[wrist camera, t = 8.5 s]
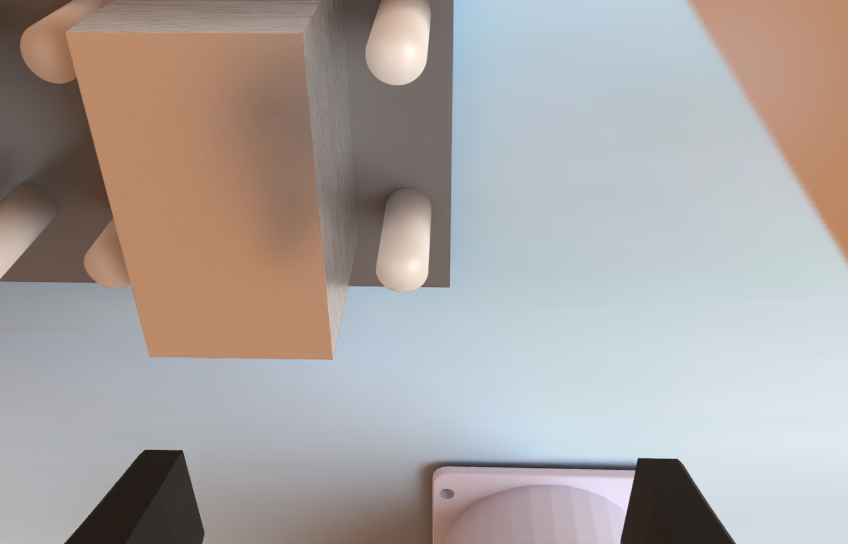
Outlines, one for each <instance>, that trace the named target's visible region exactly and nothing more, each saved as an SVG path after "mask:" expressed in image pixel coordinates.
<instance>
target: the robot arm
mask: <svg viewBox="0 0 848 544" xmlns="http://www.w3.org/2000/svg"><path fill="white" fill-rule="evenodd" d="M443 489H450V490H443ZM432 506H433V544H736V543H735V542H734V540H733V539H732V538H731V536H730V535H729V533H728V532H727V530H726V529H725V527H724V526H723V524H722V523H721V522H720V520H719V519H718V517H717V516H716V514H715V513H714V511H713V510H712V508H711V507H710V505H709V504H708V502H707V501H706V499H705V498H704V496H703V495H702V493H701V492H700V490H699V489H698V487H697V486H696V484H695V482H694V481H693V479H692V478H691V476H690V475H689V473H688V471H687V470H686V468H685V467H684V465H683V464H682V463H681V462H680V461H679V460H678V459H652V458H638V461H637V466H636V470H593V469H545V468H498V467H450V466H447V467H441V468H439V469H437V470H436V471H435V472H434V473H433V482H432ZM203 537H204V529H203V525H202V522H201V518H200V514H199V510H198V507H197V503H196V499H195V495H194V491H193V488H192V484H191V480H190V476H189V472H188V469H187V465H186V461H185V457H184V453H183V450H144V451H143V452H142V453H141V454H140V455H139V456H138V457H137V458H136V460H135V461H134V462H133V463H132V464H131V466H130V467H129V468H128V469H127V470H126V472H125V473H124V474H123V475H122V477H121V478H120V479H119V480H118V481H117V483H116V484H115V485H114V486H113V487H112V489H111V490H110V491H109V492H108V493H107V495H106V496H105V497H104V498H103V499H102V501H101V502H100V503H99V504H98V505H97V507H96V508H95V509H94V510H93V511H92V512H91V514H90V515H89V516H88V517H87V518H86V519H85V521H84V522H83V523H82V524H81V525H80V526H79V528H78V529H77V530H76V531H75V532H74V533H73V534H72V535H71V537H70V538H69V539H68V540H67V541H66V542H65V543H64V544H202V542H203Z"/></svg>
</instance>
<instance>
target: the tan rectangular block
mask: <svg viewBox="0 0 848 544" xmlns="http://www.w3.org/2000/svg"><path fill="white" fill-rule="evenodd" d="M65 34H66V38H67V42H68V46H69V50H70V53H71V57H72V61H73V65H74V69H75V73H76V76H77V80H78V84H79V88H80V92H81V96H82V99H83V103H84V107H85V111H86V115H87V118H88V122H89V126H90V130H91V134H92V138H93V141H94V145H95V149H96V153H97V157H98V161H99V164H100V168H101V172H102V176H103V180H104V184H105V187H106V191H107V195H108V199H109V203H110V207H111V210H112V214H113V218H114V222H115V226H116V229H117V233H118V237H119V241H120V245H121V249H122V252H123V256H124V260H125V264H126V268H127V272H128V275H129V279H130V283H131V287H132V291H133V295H134V298H135V302H136V306H137V310H138V314H139V317H140V321H141V325H142V329H143V333H144V337H145V340H146V344H147V348H148V352H149V356H150V357H202V358H263V359H323V360H333V357H334V352H335V347H336V342H337V337H338V333H339V328H340V323H341V318H342V313H343V308H344V304H345V299H346V294H347V289H348V284H349V279H350V274H351V270H352V265H353V260H354V255H355V250H356V245H357V224H356V208H355V193H354V177H353V161H352V145H351V130H350V114H349V98H348V82H347V67H346V51H345V35H344V19H343V4H342V0H112V1H110V2H109V3H108V4H106V5H105V6H103V7H102V8H100V9H99V10H97V11H96V12H94V13H93V14H91V15H90V16H89V17H87V18H86V19H84V20H83V21H81V22H80V23H78V24H77V25H75V26H74V27H73V28H71V29H70V30H68V31H67V32H65Z"/></svg>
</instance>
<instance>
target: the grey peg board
mask: <svg viewBox="0 0 848 544" xmlns="http://www.w3.org/2000/svg"><path fill="white" fill-rule="evenodd" d="M110 1H112V0H0V281H10V282H84V283H99V284H101V285H103V286H105V287H109V288H123V287H126V286H128V285H130V284H131V283H130V279H129V275H128V272H127V268H126V264H125V260H124V256H123V252H122V249H121V245H120V241H119V237H118V233H117V229H116V226H115V222H114V218H113V214H112V210H111V207H110V203H109V199H108V195H107V191H106V187H105V184H104V180H103V176H102V172H101V168H100V164H99V161H98V157H97V153H96V149H95V145H94V141H93V138H92V134H91V130H90V126H89V122H88V118H87V115H86V111H85V107H84V103H83V99H82V96H81V92H80V88H79V84H78V80H77V76H76V73H75V69H74V65H73V61H72V57H71V53H70V50H69V46H68V42H67V38H66V34H65V32H67V31H68V30H70V29H71V28H73V27H74V26H75V25H77V24H78V23H80V22H81V21H83V20H84V19H86V18H87V17H89V16H90V15H91V14H93V13H94V12H96V11H97V10H99V9H100V8H102V7H103V6H105V5H106V4H108V3H109V2H110ZM342 4H343V19H344V35H345V51H346V67H347V82H348V98H349V114H350V130H351V145H352V161H353V177H354V193H355V208H356V224H357V245H356V250H355V255H354V260H353V265H352V270H351V274H350V279H349V284H348V286H382V287H386V288H388V289H390V290H392V291H396V292H410V291H413V290H416V289H418V288H419V287H450V220H451V146H452V72H453V0H342Z"/></svg>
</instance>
